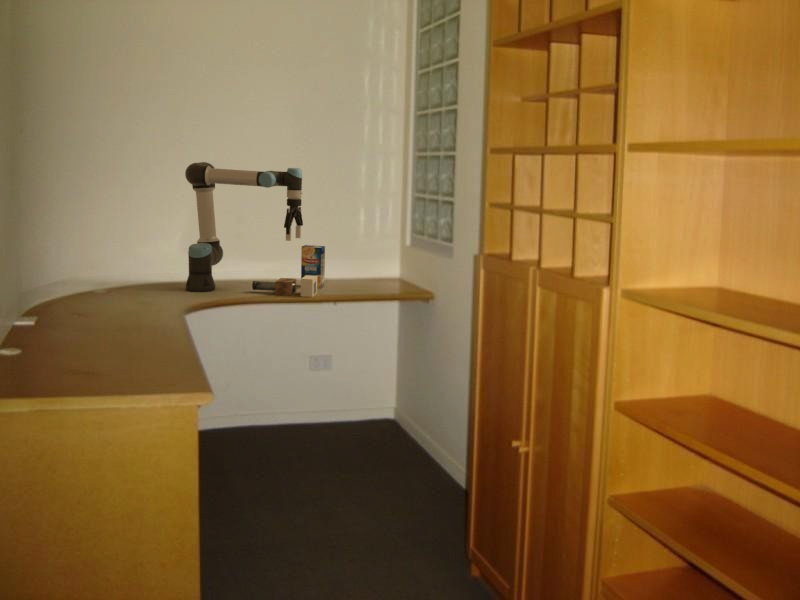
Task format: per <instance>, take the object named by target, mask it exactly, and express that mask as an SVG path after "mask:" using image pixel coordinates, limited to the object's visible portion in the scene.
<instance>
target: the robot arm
mask: <svg viewBox="0 0 800 600" xmlns="http://www.w3.org/2000/svg"><path fill="white" fill-rule="evenodd" d="M184 173H185V174H184V176H185V179H186V181H187V182H188V183H189V184H190V185H192V190H193V191H194V192H195V195H196V196H195V197H196V208H197V209H196V210H197V218H198V219H197V220H198V221H197V223H198V231H199V232H198V233H199V238H198V240H197V241H196V243H193V244H192V243H191V244H190V245H189V247H188V251H187V253H188V276H187V280H186V283H185V290H186V291H188V292H196V293H197V292H199V293H201V292H204V293H205V292H212V291H215V290H216V284H215V279H214V276H213V266H216V265H218V264H219V263H220V262H221V261H222V259H223V257H224V250H223V248H222V246H221V242H220V238H218V236H217V229H216V217H215V207H214V206H215V205H214V204H215V203H214V193H213V191H215V189H216V184H219V185H231V186H232V185H234V186H235V185H236V186H247V187H248V186H249V187H251V186H252V187H263V188H265V189H266V188H268V189H269V188H272V187H286V198H287V199H286V206H287V207H289V208H286V215H285V218H284V223H283V224H284V225H283V228H285V241H286V242H288V241H289V242H291V241H292V224H293V221H295V224H296V225H295V239H302V238H301V237H302V227H303V226H304V223H303V222H304V221H303V215H302V214H303V213H302V207H301V206H302V195H303V192H302V189H303V188H302V187H303V185H302V183H303V171H302V168H299V167H297V168H296V167H288V168H287V170H286V171H277V170H266V171H261V170H260V171H259V170H245V169H244V170H242V169H241V170H240V169H229V168H228V169H227V168H215V166H214V165H213V164H211V163H210V162H206V161H205V162H204V161H201V162H200V161H199V162H193V163H191V164H189V165H188V166H187V167H186V169H185V171H184Z"/></svg>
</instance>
